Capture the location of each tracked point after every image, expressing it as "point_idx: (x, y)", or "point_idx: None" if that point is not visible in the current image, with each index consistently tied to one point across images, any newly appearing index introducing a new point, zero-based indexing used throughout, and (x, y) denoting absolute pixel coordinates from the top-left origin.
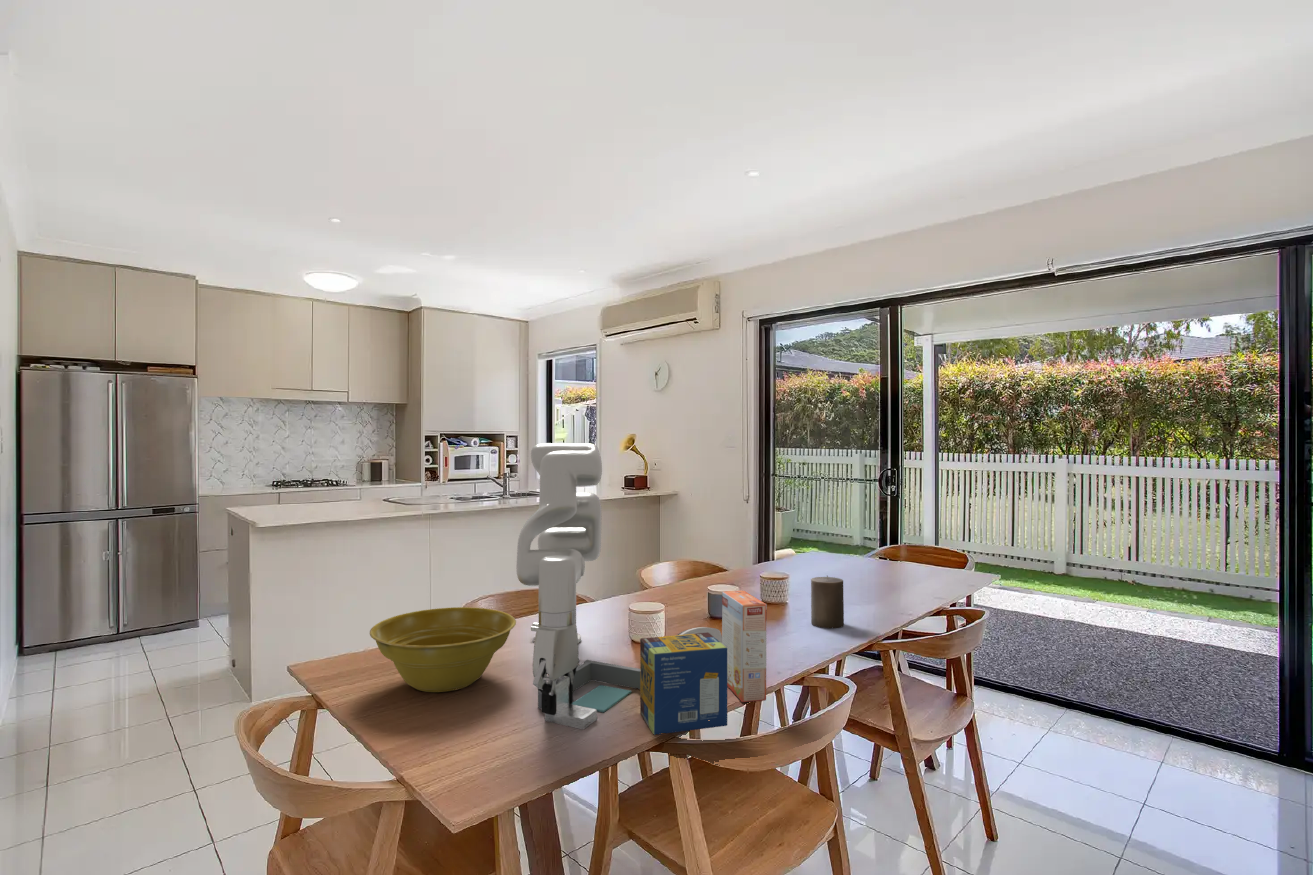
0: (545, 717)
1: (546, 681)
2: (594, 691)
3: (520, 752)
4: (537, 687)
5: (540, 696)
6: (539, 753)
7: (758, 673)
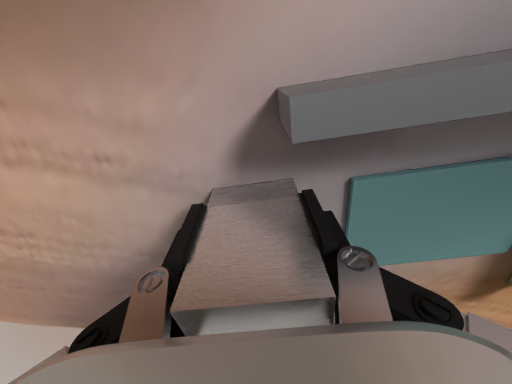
0: (211, 196)
1: (168, 332)
2: (492, 175)
3: (63, 254)
4: (65, 351)
5: (284, 111)
6: (100, 279)
7: None
